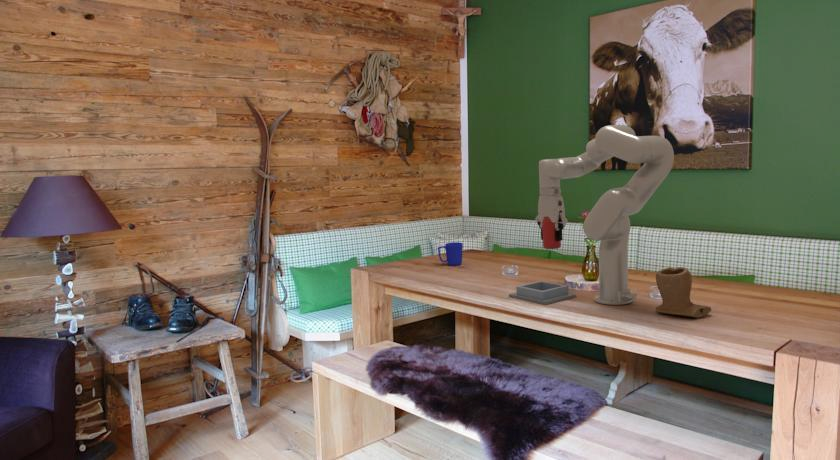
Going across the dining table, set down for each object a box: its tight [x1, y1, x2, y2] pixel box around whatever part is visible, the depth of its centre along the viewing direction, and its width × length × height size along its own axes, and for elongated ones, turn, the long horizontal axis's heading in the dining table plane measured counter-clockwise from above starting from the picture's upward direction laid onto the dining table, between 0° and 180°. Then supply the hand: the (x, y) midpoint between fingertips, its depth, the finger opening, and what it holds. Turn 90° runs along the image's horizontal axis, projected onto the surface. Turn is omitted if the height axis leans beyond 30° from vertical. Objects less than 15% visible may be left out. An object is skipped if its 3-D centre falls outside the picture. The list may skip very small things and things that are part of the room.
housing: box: [508, 280, 577, 306], centre depth 239 cm, size 18×16×4 cm
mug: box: [437, 241, 464, 266], centre depth 311 cm, size 8×12×10 cm
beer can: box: [542, 217, 562, 250], centre depth 247 cm, size 7×7×12 cm
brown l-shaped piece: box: [655, 266, 712, 319], centre depth 206 cm, size 15×12×15 cm
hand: (551, 239), depth 247 cm, fingers closed on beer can, 6 cm apart
